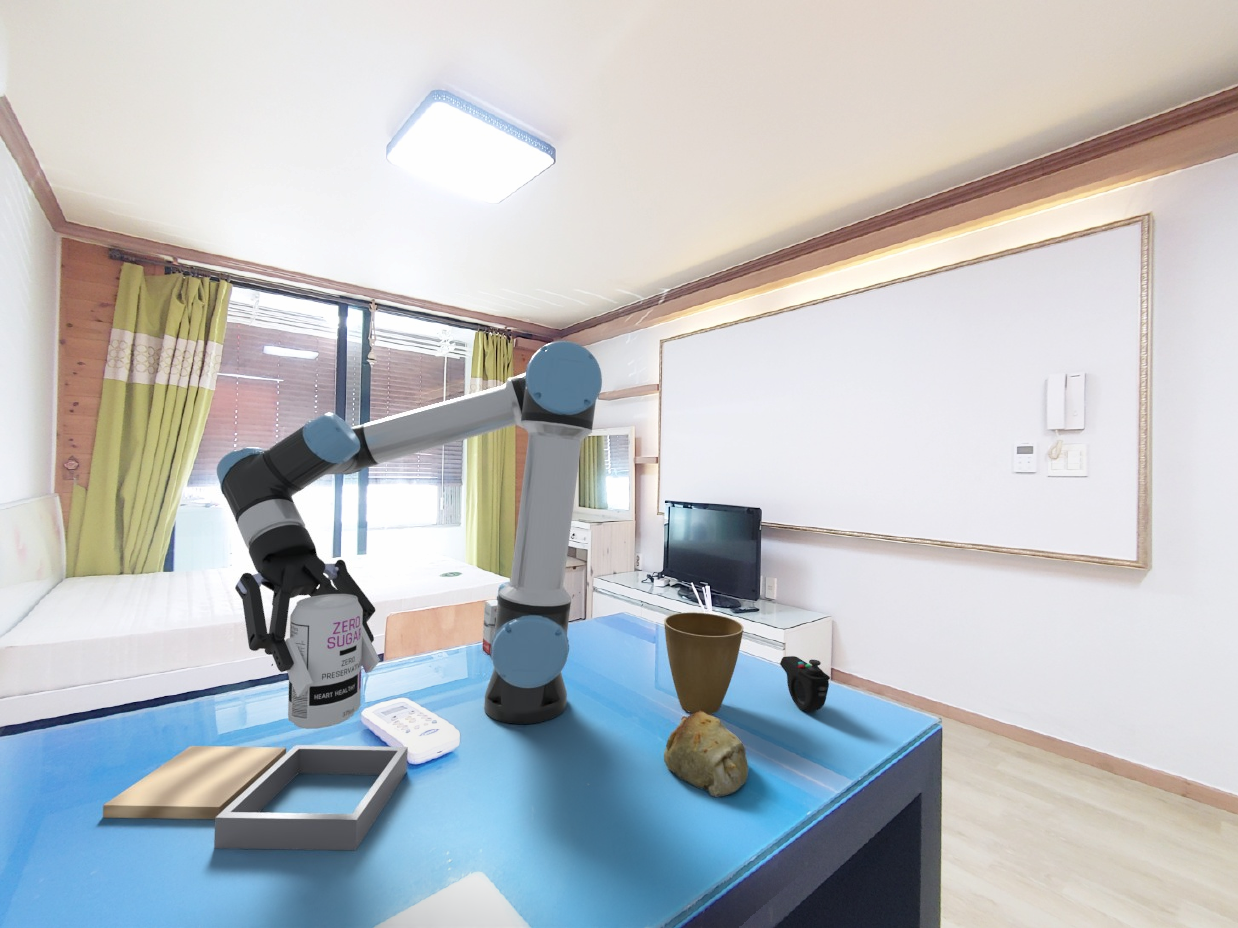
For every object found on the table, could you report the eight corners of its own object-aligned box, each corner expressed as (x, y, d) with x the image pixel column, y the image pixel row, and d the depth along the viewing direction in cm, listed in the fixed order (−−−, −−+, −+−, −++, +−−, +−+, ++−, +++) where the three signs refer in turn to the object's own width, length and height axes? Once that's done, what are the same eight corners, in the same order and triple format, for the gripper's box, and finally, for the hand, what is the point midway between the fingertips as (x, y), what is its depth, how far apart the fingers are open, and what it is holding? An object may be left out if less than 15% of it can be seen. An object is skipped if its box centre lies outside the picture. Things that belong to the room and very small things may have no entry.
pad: (286, 757, 80) (286, 747, 80) (218, 818, 66) (219, 806, 66) (190, 755, 80) (190, 745, 80) (102, 817, 66) (103, 805, 66)
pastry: (660, 744, 88) (662, 695, 88) (737, 747, 88) (738, 698, 88) (667, 797, 74) (669, 739, 74) (758, 801, 74) (760, 742, 74)
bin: (406, 771, 78) (407, 746, 78) (355, 849, 62) (356, 819, 62) (294, 769, 77) (295, 744, 77) (214, 848, 61) (215, 817, 61)
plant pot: (651, 715, 98) (653, 627, 98) (674, 685, 112) (676, 608, 112) (733, 732, 92) (736, 639, 92) (746, 699, 106) (749, 618, 106)
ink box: (489, 655, 125) (490, 605, 126) (482, 649, 130) (483, 600, 130) (523, 649, 130) (524, 601, 130) (515, 643, 134) (516, 596, 134)
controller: (811, 722, 97) (813, 667, 97) (776, 693, 109) (777, 644, 109) (832, 720, 98) (834, 666, 98) (795, 692, 110) (796, 643, 110)
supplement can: (307, 702, 73) (309, 592, 73) (369, 701, 74) (372, 592, 74) (274, 731, 65) (277, 608, 65) (344, 730, 66) (347, 608, 66)
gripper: (338, 547, 87) (399, 668, 78) (179, 566, 69) (236, 726, 60) (358, 516, 84) (424, 638, 76) (199, 528, 66) (261, 690, 58)
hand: (341, 677), depth 68 cm, fingers closed on supplement can, 8 cm apart
